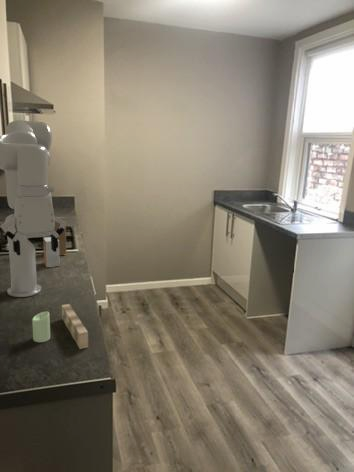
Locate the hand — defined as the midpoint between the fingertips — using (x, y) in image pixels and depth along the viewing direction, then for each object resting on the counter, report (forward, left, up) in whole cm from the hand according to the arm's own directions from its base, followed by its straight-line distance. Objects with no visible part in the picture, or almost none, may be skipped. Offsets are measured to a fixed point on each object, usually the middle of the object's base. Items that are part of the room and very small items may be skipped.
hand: (36, 252), depth 107 cm
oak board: (-4, +11, -29) cm, 31 cm away
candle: (-4, +1, -29) cm, 29 cm away
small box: (-75, +19, -29) cm, 82 cm away
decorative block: (-91, +24, -29) cm, 98 cm away
